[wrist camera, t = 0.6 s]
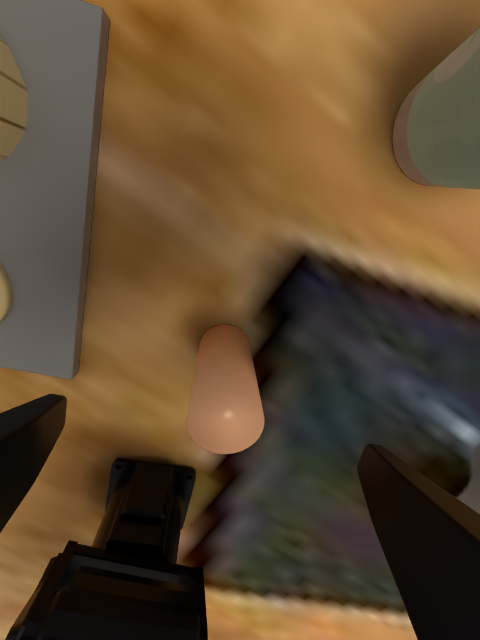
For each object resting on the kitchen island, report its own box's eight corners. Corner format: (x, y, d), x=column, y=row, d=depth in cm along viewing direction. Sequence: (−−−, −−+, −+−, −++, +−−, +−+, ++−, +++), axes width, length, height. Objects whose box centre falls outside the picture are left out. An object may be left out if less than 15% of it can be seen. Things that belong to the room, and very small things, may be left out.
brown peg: (242, 374, 22) (253, 459, 15) (194, 365, 22) (180, 447, 14) (255, 330, 21) (273, 397, 13) (205, 319, 20) (195, 382, 13)
